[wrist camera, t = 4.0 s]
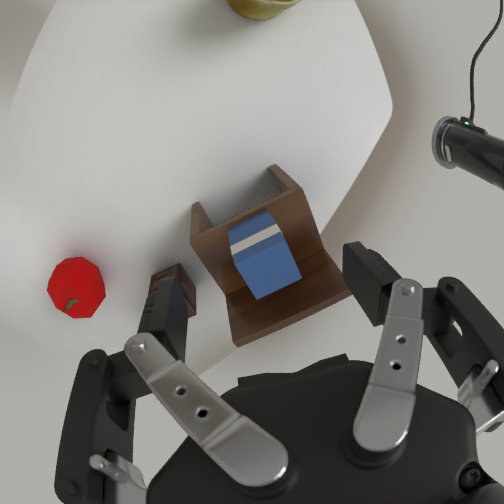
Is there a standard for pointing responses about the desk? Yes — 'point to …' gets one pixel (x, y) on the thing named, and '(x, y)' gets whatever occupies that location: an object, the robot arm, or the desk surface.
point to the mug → (261, 7)
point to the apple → (76, 287)
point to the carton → (262, 255)
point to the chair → (304, 254)
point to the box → (184, 282)
